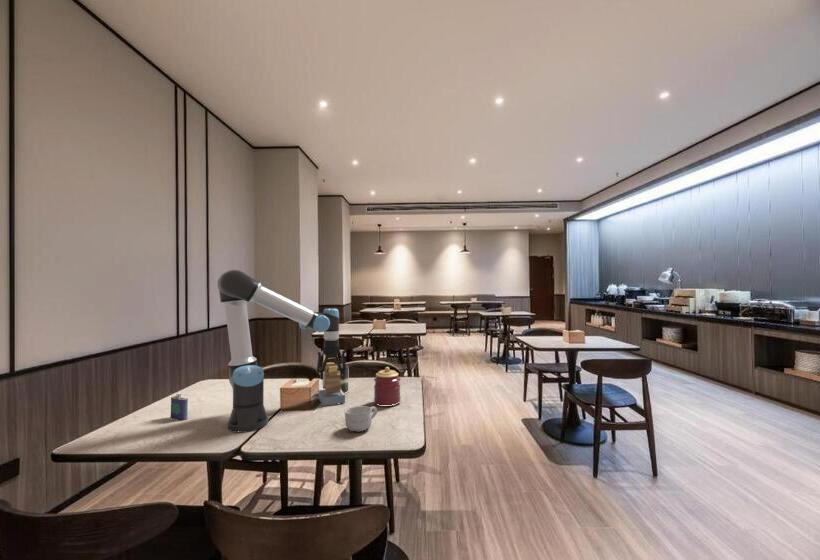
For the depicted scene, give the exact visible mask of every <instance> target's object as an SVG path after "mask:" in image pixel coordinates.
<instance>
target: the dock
mask: <svg viewBox="0 0 820 560" xmlns="http://www.w3.org/2000/svg"><path fill="white" fill-rule="evenodd" d="M318 400H319V402H321V403H320V405H321V407H326V406H325V405H329V406H333V405H332V404H337V405H339V404H338V403H345V404H346V394H344V393H343V392H342V390H341V389H340V392H338V393H329V394H326V393H325V389H319V390H318Z"/></svg>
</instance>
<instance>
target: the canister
mask: <svg viewBox="0 0 820 560" xmlns="http://www.w3.org/2000/svg"><path fill="white" fill-rule="evenodd" d="M399 374H400V373H398V372H397V371H396V370H394V369H390V366H386V367H384V369H381V370H379V371H378V372H376V373H375V377H374V379H373V381H374V385H373V388H374V389H373V390H374V393H373V394H374V398H373V402H374V404H375V403H376V404H379V405H392V404H396V403H398V402H400V403H401V384H400V381H401V378H400V376H399ZM376 404H375V405H376Z"/></svg>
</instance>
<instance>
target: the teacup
mask: <svg viewBox="0 0 820 560" xmlns="http://www.w3.org/2000/svg"><path fill="white" fill-rule="evenodd" d="M372 410H374V411H373V414H372ZM377 413H378V409H377V407H375V406H366V405H365V406H364V405H358V406H357V405H356V406H351V407H349V408H347V409H345V410H344V420H345V421H344V423H345V426H346V429H348V430H349V431H350V430H351V431H350V432H352V431H362V432H364V431H363V430H365V431H366V429H367V428H368V429H369V428H370V427H371V425H372V420H374V418H375V417H376V415H377ZM368 429H367V430H368Z"/></svg>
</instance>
